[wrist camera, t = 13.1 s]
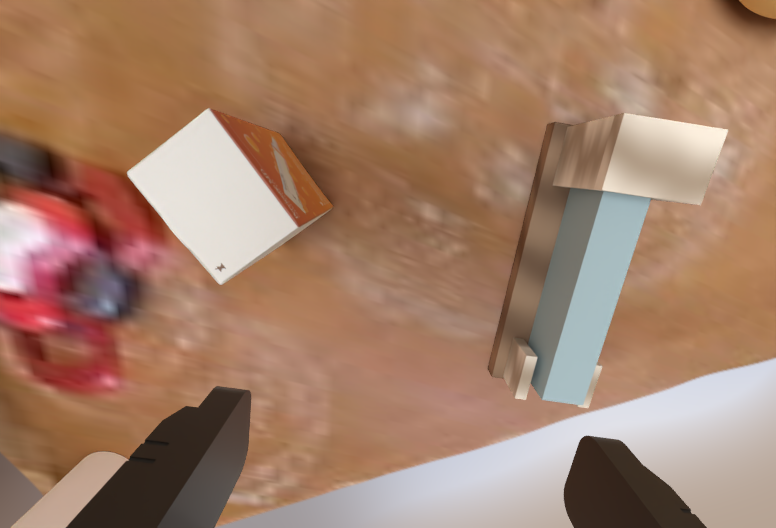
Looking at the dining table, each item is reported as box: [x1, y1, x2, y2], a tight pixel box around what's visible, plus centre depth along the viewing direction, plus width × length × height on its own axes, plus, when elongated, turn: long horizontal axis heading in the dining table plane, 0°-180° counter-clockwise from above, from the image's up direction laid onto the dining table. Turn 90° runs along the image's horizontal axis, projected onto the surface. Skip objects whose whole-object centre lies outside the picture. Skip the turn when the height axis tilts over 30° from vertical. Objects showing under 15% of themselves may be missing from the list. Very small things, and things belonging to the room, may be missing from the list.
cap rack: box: [488, 113, 728, 408], centre depth 30 cm, size 24×9×9 cm, turn 172°
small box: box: [127, 108, 333, 285], centre depth 27 cm, size 8×6×13 cm
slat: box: [528, 188, 651, 405], centre depth 31 cm, size 20×4×5 cm, turn 172°
